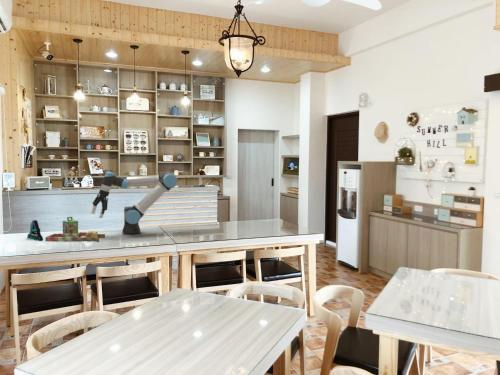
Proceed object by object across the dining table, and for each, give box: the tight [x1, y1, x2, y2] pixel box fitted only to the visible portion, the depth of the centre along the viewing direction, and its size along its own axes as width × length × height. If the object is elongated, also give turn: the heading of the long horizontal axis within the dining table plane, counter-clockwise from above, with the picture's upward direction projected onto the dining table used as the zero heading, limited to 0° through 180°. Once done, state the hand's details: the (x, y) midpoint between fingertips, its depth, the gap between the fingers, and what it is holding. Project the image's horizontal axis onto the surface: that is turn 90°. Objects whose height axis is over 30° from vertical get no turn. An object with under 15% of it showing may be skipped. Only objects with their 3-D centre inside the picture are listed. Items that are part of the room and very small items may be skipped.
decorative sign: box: [26, 219, 44, 242], centre depth 327 cm, size 19×2×15 cm, turn 56°
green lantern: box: [62, 216, 79, 234], centre depth 347 cm, size 9×9×15 cm
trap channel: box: [45, 231, 106, 243], centre depth 332 cm, size 40×22×3 cm, turn 92°
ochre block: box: [85, 230, 99, 237], centre depth 329 cm, size 7×7×6 cm
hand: (96, 215), depth 335 cm, fingers open, 13 cm apart
